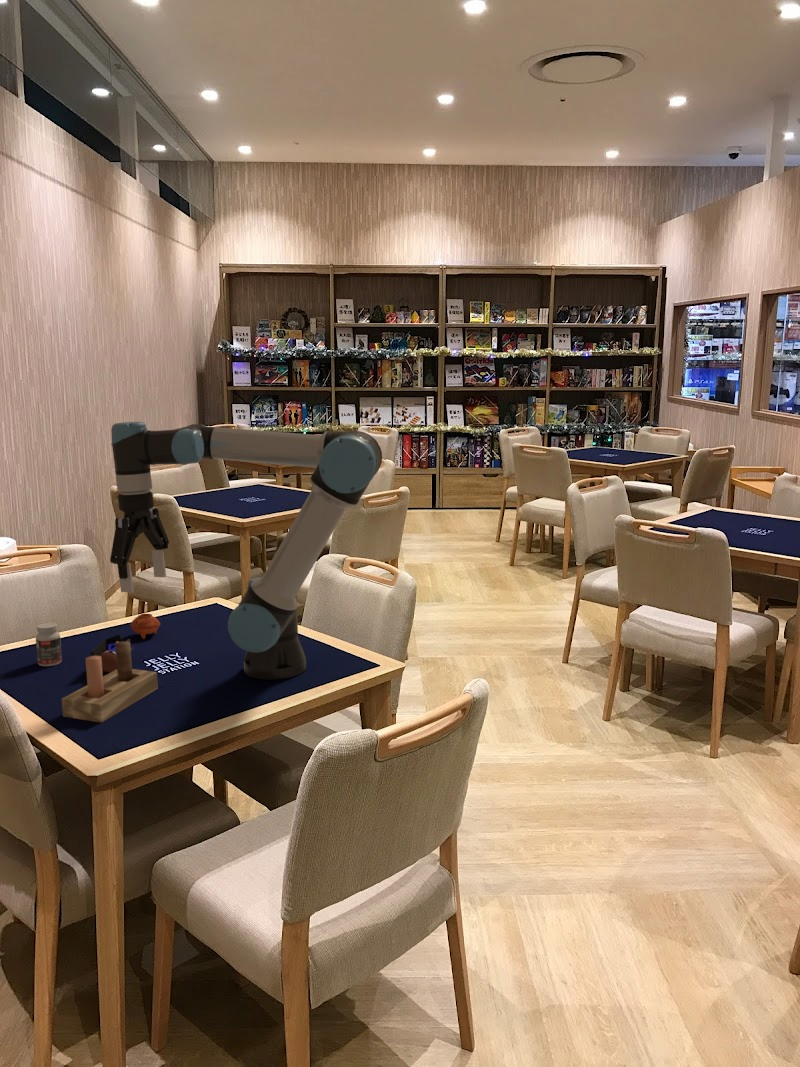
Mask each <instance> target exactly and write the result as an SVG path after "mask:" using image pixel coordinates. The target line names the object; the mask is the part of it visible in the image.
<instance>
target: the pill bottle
mask: <svg viewBox="0 0 800 1067" xmlns="http://www.w3.org/2000/svg"><path fill="white" fill-rule="evenodd" d="M36 630H37V632H38V633H37V634H36V636H35V646H36V656H37V657H36V659H37V660H36V661H37V664H38V665H39V666H40V667H52V666H53V667H54V666H57V665H59V664H61V662H62V661H63V657H62V656H63V654H62V642H61V634H60V632H58V631H57V630H58V624H57V623H55V622H45V623H40V624H38V625H37V626H36Z"/></svg>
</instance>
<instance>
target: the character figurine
mask: <svg viewBox="0 0 800 1067" xmlns="http://www.w3.org/2000/svg"><path fill="white" fill-rule="evenodd" d="M123 641H124V640H123V639H122V636H121V634H120V633H119V634H116V635H114V636H111V637H108V638H104V639H103V640H102V641H101V642H100V643H99V644H98V645H96V646H95V648H93V649H92V650H91V651H90V656H101V659H102V673H103V676H105V675H107V674H109V673H111V672H113V671H115V670H117V660H116V647H115V644H116V643H118V642H123ZM126 641H127V642H130V643H131V639H130V638H128V639H127V640H126ZM130 647H131V652H132V651H133V650H134V647H133V646H130Z"/></svg>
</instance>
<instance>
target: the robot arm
mask: <svg viewBox="0 0 800 1067" xmlns="http://www.w3.org/2000/svg"><path fill="white" fill-rule="evenodd" d="M110 431H111V446H112V447H111V448H112V454H113V462H114V473H115V481H116V482H115V483H116V491H117V492H118V495H117V500H118V501H117V503H118V509H119V510H120V512H123V517H121V518H120V517H115V519H114V528H115V529H114V535H113V540H112V541H113V542H112V546H111V553H110V559H109V560H110V561H109V562H110V563H111V564H114V565H117V572H118V578H119V584H120V585H119V587H120V592H121V593H128V594H129V593H134V582H133V581H134V580H133V572H132V563H131V562H129V560H130V557H131V554H132V552H133V551H132V550H133V548H134V544H135V541H136V539H137V538H138V537H139V536H140V535H141V534H143V535H144V536H145V537H146V539H147V540H148V542H149V543H150V544H151V546H152V547H153V549H151V558H152V566H153V567H152V568H153V576H154V578H166V577H167V572H166V560H165V559H166V558H165V550H167V549H168V548H169V544H170V539H169V537H168V535H167V532H166V529H165V528H164V526H163V523H162V520H161V518H160V513H159V508H154V505H155V503H154V494H153V492H152V491H151V490H152V489H153V483H152V482H153V481H152V473H151V466H155V465H156V466H157V465H184V466H185V465H189V464H199V463H200V462H201V461H202V459H206V460H220V461H221V460H222V461H231V462H245V463H258V464H269V465H280V466H293V467H304V468H315V469H314V471H313V473H312V475H311V476H310V478H309V479H310V480H309V481H310V484H311V487H312V488H311V491H310V492H309V494H308V495H307V498H306V500H305V501H304V503H303V505H302V506H301V508H300V510H299V512H298V514H297V515H296V517H295V519H294V521H293V523H292V524H291V525H290V527H289V529H288V530H287V533H286V534H285V536H284V538H283V540H282V541H281V543H280V545H279V547H278V549H277V550H276V552H275V554H274V556H273V557H272V560H271V561H270V563H269V565H268V566H267V568H266V570H265V572H264V574H263V575H262V576H261V577H260V576H259V577H254V578H253V577H252V578H251V579H249V580H248V582H247V587H246V589H247V590H246V591H245V594H244V595H243V596H242V599H241V600H240V602H239V604H238V605H237V606H236V607H235V608H234V609H233V610H231V613H230V615H229V617H228V622H227V630H228V634H229V636H230V639H231V640H232V642H233V643H234V644H235V645H236V646H237V647H239V648H240V649H242V650H243V651H246V653H245V656H244V660H243V672H244V673H245V675H247V676H248V677H250V678H254V679H258V680H283V679H289V678H292V677H296V676H298V675H300V674H303V673H304V672H305V670H306V669H307V659H306V656H305V652H304V650H303V647H302V645H301V642H300V640H299V628H298V626H299V625H298V624H299V623H298V622H299V621H298V593H299V591H300V589H301V587H302V586H303V584H304V583H305V582H306V579H307V577H308V575H309V574H310V572H311V571H312V568H313V567H314V565H315V564H316V562H317V560H318V558H319V556H320V555H321V554H322V552H323V550H324V549H325V546H326V544H327V542H328V541H329V539H330V537H331V536H332V534H333V532H334V531H335V529H336V527H338V526H337V525H338V524H339V522H340V520H341V519H342V517H343V515H344V513H345V511H346V510H347V509H348V508H352V507H356V506H357V505H358V504H359V501H360V500H361V498H362V497H363V495H364V493H365V491H366V490H367V488H368V487H369V485H370V483H371V482H372V480H373V479H374V477H375V475H376V474H377V473H378V472H379V470H380V468H381V466H382V461H383V452H382V448H381V446H380V444H379V442H378V441H377V440H376V439H375V437H374V436H372V435H371V434H368V433H367V432H364V431H360V430H352V431H350V430H349V431H330V430H329V431H328V430H327V431H325V432H323V433H322V434H319V435H318V434H309V433H308V434H307V433H299V432H298V433H295V432H284V431H283V432H282V431H273V430H272V431H270V430H258V429H256V430H255V429H247V428H246V429H244V428H243V429H242V428H232V427H219V426H216V427H215V426H206V425H204V424H200V423H199V424H197V423H196V424H195V423H194V424H190V425H186V426H183V427H179V428H174V429H167V430H166V429H164V430H149V429H148V428H147V425H146V423H145V422H144V421H125V422H124V421H123V422H117V423H114V424H113V425H111V430H110Z"/></svg>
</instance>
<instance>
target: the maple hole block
mask: <svg viewBox="0 0 800 1067" xmlns="http://www.w3.org/2000/svg"><path fill="white" fill-rule="evenodd" d="M132 675H133V679H132V680H130V681H129V682H123V681H118V674H117V670H115V671H113V672H108V673H107V674H106V675H105V676H103V686H104V696H102V697H100V698H99V699H98V698H91V697H89V696H88V684H86V685H85V686H83V687H81V688H79V689H78V690H76V691H74V692H73V691H72V693H70V694H67V695H66V696H65V697H62V698H61V708H62V717H64V718H65V717H66V718H71V719H75V720H76V719H77V720H83V721H89V722H95V723H103V722H105V721H107V720H108V719H110V718H113V716H115V715H117V714H119V713H120V712H122V711H123V710H126V708H128V707H130V706H132V705H133V704H135V703H137V702H138V701H140V700H142V699H143V698H145V697H147V696H148V695H150V694H151V693H153V692H155V691H156V690H158V689H159V685H158V684H159V682H158V672H157V671H150V670H143V669H135V668H132Z"/></svg>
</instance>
